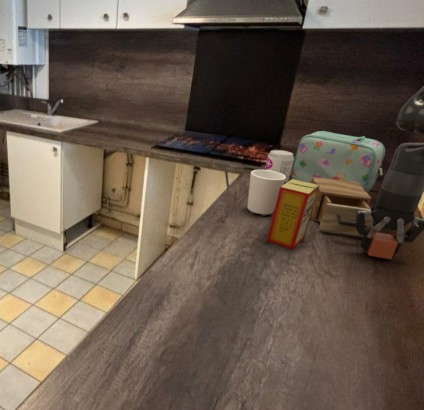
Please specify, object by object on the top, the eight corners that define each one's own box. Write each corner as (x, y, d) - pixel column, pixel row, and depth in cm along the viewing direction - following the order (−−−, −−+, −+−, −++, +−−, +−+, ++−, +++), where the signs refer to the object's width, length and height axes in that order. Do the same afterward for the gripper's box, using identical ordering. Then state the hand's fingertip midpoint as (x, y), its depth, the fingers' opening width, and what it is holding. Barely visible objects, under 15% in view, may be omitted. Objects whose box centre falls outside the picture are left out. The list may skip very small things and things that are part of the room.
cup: (247, 203, 121) (254, 167, 116) (278, 210, 116) (288, 173, 111) (239, 213, 114) (247, 175, 109) (273, 221, 109) (283, 182, 103)
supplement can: (261, 194, 129) (270, 154, 123) (259, 187, 136) (267, 148, 130) (286, 198, 126) (296, 156, 120) (282, 190, 133) (292, 151, 127)
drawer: (372, 245, 94) (383, 218, 91) (322, 236, 98) (331, 211, 95) (354, 217, 110) (362, 194, 107) (311, 211, 114) (318, 188, 111)
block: (384, 250, 91) (391, 234, 89) (391, 259, 87) (398, 243, 86) (363, 247, 93) (369, 231, 91) (368, 255, 89) (374, 239, 87)
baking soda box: (292, 249, 93) (308, 192, 87) (266, 240, 97) (280, 185, 91) (304, 237, 99) (320, 183, 93) (279, 229, 104) (293, 177, 97)
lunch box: (376, 198, 127) (398, 139, 118) (363, 204, 122) (386, 142, 113) (299, 177, 147) (313, 125, 139) (286, 182, 142) (300, 128, 133)
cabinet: (360, 228, 105) (371, 198, 101) (311, 220, 110) (320, 191, 106) (348, 209, 118) (357, 182, 114) (304, 203, 122) (312, 176, 118)
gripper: (433, 187, 84) (406, 250, 91) (360, 179, 89) (340, 240, 96) (448, 199, 78) (418, 265, 84) (369, 189, 82) (347, 253, 89)
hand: (377, 251), depth 90 cm, fingers closed on block, 4 cm apart
